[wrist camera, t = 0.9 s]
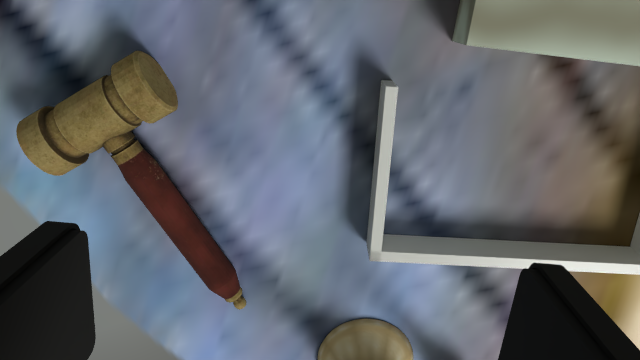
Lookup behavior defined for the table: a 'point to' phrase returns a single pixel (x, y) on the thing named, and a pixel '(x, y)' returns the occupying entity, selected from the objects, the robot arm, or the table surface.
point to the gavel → (128, 155)
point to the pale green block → (554, 27)
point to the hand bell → (365, 342)
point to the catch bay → (474, 250)
